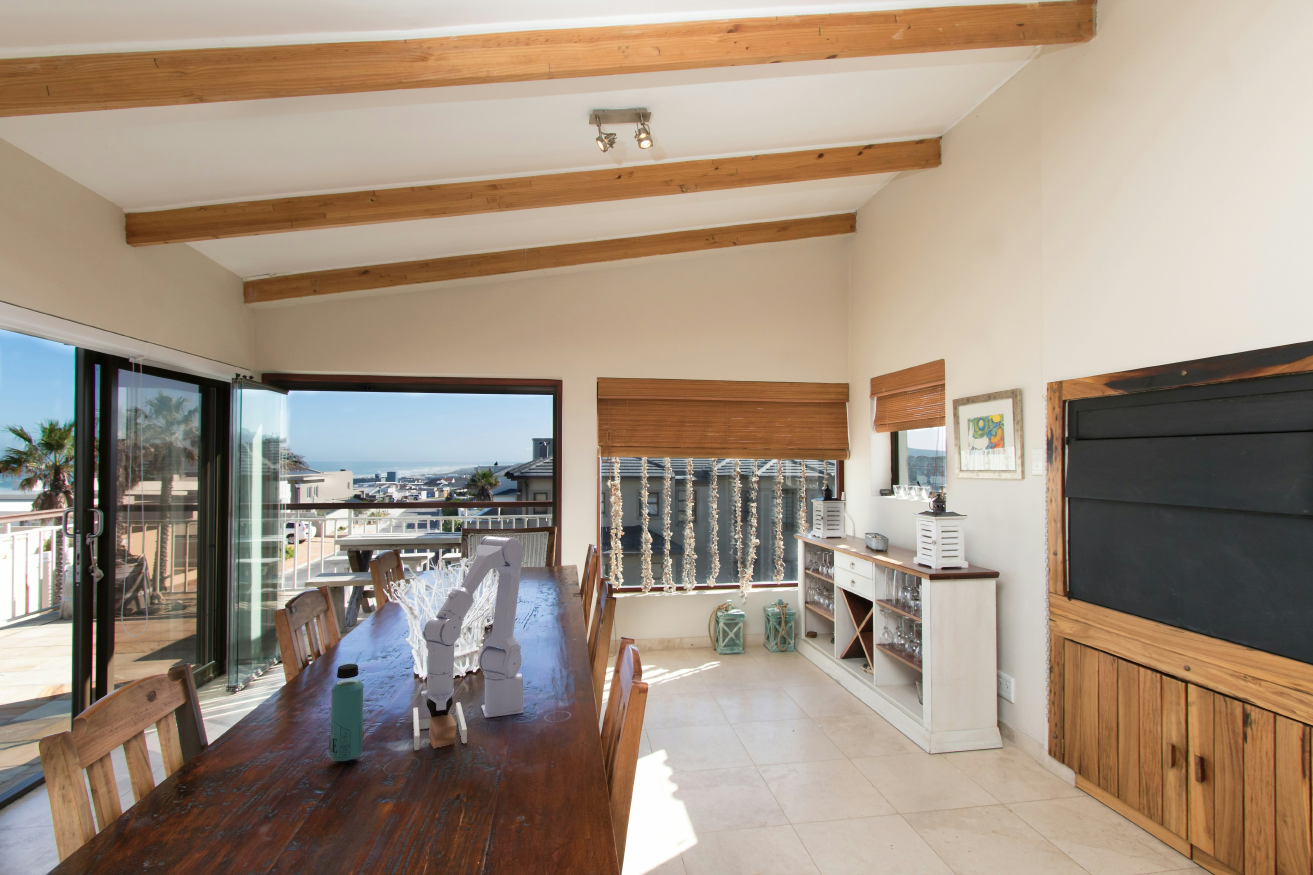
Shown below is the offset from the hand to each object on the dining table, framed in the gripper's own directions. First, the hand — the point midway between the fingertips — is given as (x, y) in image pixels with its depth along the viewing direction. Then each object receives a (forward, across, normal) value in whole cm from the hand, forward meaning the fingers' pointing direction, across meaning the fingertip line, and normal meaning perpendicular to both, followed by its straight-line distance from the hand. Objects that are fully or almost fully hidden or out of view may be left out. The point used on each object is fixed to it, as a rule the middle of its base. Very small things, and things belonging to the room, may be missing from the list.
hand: (438, 731), depth 148 cm
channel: (+2, -5, 0) cm, 5 cm away
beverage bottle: (+2, +5, -19) cm, 20 cm away
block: (+1, +2, 0) cm, 2 cm away
